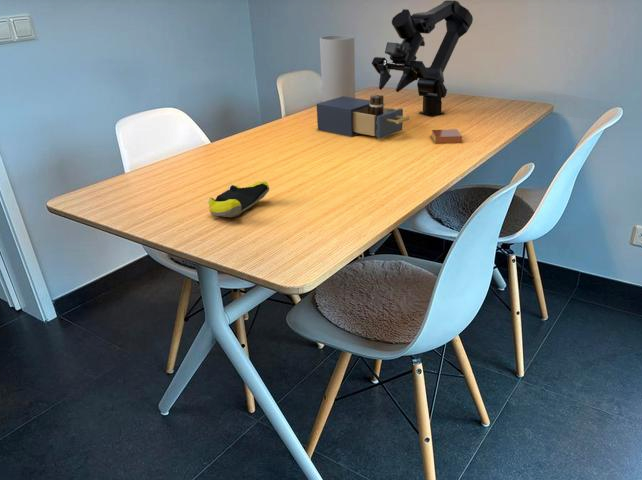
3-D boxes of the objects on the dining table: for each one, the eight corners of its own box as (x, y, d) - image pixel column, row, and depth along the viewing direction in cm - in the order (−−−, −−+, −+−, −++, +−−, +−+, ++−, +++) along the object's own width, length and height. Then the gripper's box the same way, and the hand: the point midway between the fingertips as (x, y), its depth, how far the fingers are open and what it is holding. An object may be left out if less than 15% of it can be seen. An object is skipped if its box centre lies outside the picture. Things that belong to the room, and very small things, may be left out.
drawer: (414, 132, 177) (415, 110, 173) (392, 141, 169) (392, 119, 165) (369, 124, 187) (369, 103, 184) (346, 132, 179) (345, 111, 176)
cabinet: (376, 127, 186) (377, 101, 182) (351, 136, 177) (350, 109, 173) (343, 121, 195) (343, 96, 190) (317, 129, 186) (316, 103, 181)
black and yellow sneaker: (274, 202, 131) (239, 196, 135) (272, 180, 128) (236, 175, 132) (237, 227, 119) (200, 220, 123) (234, 203, 116) (196, 196, 120)
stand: (431, 136, 176) (431, 129, 175) (456, 135, 176) (457, 129, 175) (435, 143, 169) (435, 136, 168) (461, 142, 169) (462, 136, 168)
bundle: (369, 126, 180) (369, 94, 175) (384, 126, 180) (384, 94, 175) (369, 130, 176) (369, 98, 171) (384, 130, 176) (384, 97, 171)
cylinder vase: (362, 107, 213) (361, 36, 200) (339, 113, 205) (337, 40, 193) (338, 102, 220) (336, 34, 208) (316, 108, 212) (312, 38, 200)
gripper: (374, 30, 177) (353, 71, 175) (424, 33, 167) (402, 77, 165) (389, 53, 186) (369, 92, 185) (436, 57, 176) (416, 99, 174)
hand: (388, 90), depth 177 cm, fingers open, 6 cm apart
